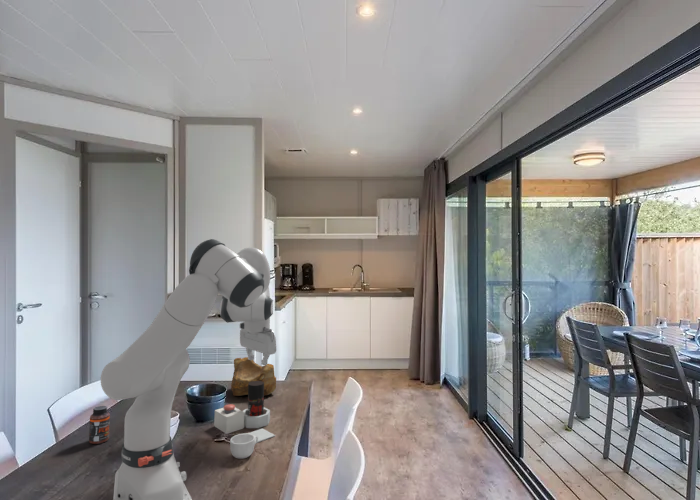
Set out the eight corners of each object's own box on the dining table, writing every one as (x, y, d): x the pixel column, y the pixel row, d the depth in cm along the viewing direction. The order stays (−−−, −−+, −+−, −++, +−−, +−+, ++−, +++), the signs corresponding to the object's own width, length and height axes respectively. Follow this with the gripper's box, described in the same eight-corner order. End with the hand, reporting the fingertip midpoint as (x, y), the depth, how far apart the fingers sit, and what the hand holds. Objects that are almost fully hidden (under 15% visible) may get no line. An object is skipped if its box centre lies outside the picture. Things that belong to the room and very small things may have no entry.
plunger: (236, 421, 155) (236, 406, 155) (226, 425, 152) (227, 409, 152) (231, 418, 157) (231, 403, 158) (221, 421, 155) (221, 406, 155)
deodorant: (244, 423, 158) (244, 384, 158) (254, 418, 163) (255, 380, 163) (256, 427, 155) (257, 386, 155) (266, 421, 161) (267, 382, 161)
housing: (274, 422, 159) (274, 407, 159) (231, 437, 146) (231, 420, 146) (256, 413, 168) (256, 398, 168) (214, 426, 155) (214, 410, 155)
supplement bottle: (99, 445, 139) (100, 411, 139) (84, 443, 140) (85, 410, 140) (113, 438, 144) (114, 405, 144) (98, 436, 146) (99, 403, 146)
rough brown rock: (215, 396, 190) (215, 364, 189) (242, 383, 204) (241, 353, 203) (254, 407, 179) (254, 373, 177) (279, 393, 193) (279, 361, 192)
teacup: (239, 464, 128) (240, 446, 128) (224, 456, 133) (225, 439, 133) (264, 452, 136) (265, 435, 136) (249, 445, 141) (250, 429, 141)
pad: (275, 436, 148) (275, 435, 148) (255, 443, 142) (255, 442, 142) (262, 429, 153) (262, 428, 153) (243, 435, 148) (243, 434, 148)
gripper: (280, 328, 154) (280, 366, 154) (251, 321, 169) (250, 355, 169) (266, 330, 150) (265, 369, 150) (237, 323, 164) (236, 358, 164)
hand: (257, 362), depth 159 cm, fingers open, 8 cm apart
